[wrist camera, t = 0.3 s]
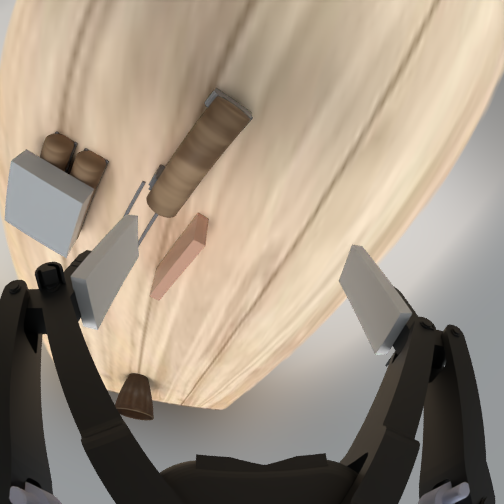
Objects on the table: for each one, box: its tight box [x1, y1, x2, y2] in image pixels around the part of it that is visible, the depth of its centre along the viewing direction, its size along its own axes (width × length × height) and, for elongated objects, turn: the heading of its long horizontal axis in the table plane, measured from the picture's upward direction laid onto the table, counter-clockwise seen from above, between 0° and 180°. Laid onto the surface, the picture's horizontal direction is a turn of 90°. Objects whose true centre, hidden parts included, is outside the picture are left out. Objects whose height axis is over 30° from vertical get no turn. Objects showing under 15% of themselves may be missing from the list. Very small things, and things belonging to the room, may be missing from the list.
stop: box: [150, 213, 208, 300], centre depth 45 cm, size 16×2×7 cm, turn 141°
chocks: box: [55, 132, 158, 247], centre depth 40 cm, size 16×23×1 cm
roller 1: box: [40, 134, 74, 172], centre depth 34 cm, size 16×5×5 cm, turn 141°
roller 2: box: [70, 151, 106, 240], centre depth 37 cm, size 16×5×5 cm, turn 141°
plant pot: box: [115, 374, 154, 420], centre depth 82 cm, size 15×15×16 cm
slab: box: [5, 149, 94, 258], centre depth 31 cm, size 12×14×4 cm
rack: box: [149, 88, 253, 205], centre depth 34 cm, size 16×6×4 cm, turn 141°
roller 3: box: [147, 96, 250, 218], centre depth 31 cm, size 16×5×5 cm, turn 141°
